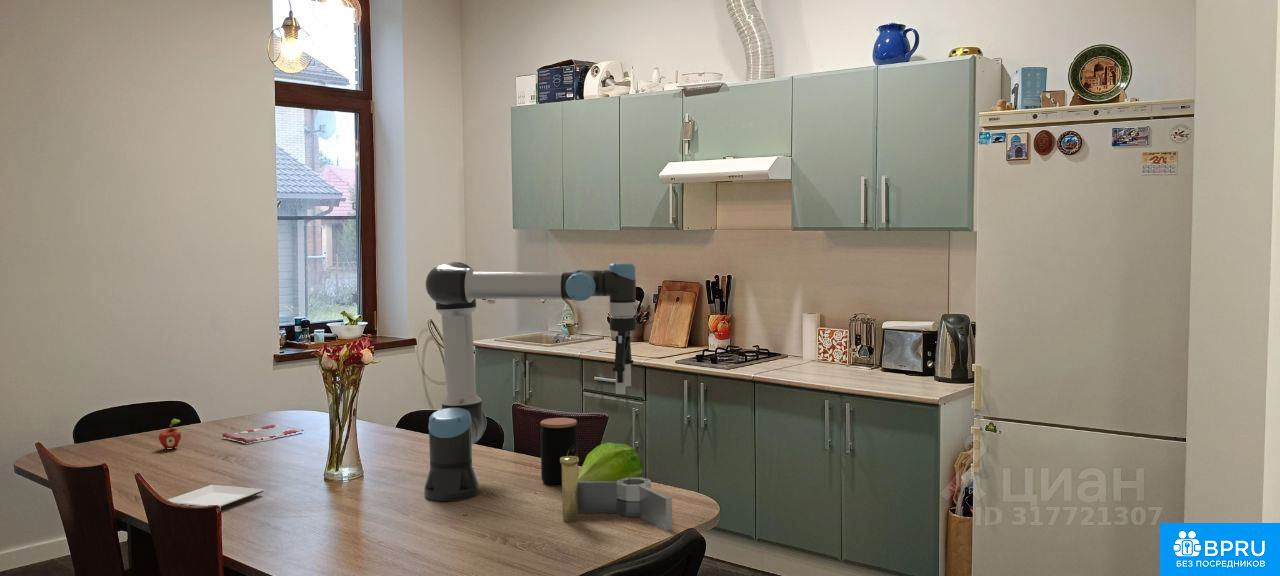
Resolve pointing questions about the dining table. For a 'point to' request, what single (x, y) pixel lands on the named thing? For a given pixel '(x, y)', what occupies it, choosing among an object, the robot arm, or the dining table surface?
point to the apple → (170, 436)
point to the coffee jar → (556, 447)
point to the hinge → (626, 500)
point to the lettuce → (611, 463)
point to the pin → (569, 488)
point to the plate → (216, 496)
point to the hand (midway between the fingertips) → (623, 390)
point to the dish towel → (259, 437)
